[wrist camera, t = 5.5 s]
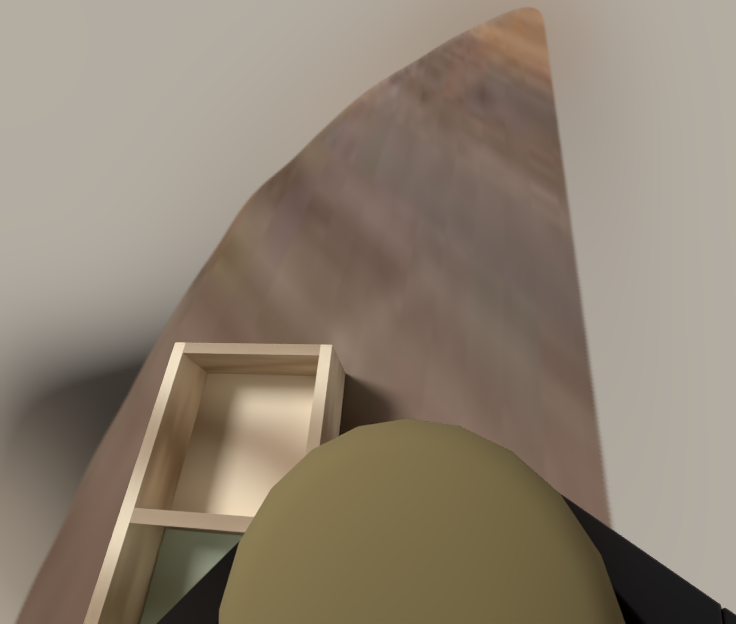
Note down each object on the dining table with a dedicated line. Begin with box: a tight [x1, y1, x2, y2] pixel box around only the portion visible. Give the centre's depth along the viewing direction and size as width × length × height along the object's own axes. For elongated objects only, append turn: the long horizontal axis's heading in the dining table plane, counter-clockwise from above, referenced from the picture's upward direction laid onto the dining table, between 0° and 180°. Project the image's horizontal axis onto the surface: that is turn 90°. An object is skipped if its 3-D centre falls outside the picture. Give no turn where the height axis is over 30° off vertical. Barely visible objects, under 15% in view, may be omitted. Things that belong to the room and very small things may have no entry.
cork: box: [219, 418, 625, 624], centre depth 9 cm, size 6×6×11 cm
